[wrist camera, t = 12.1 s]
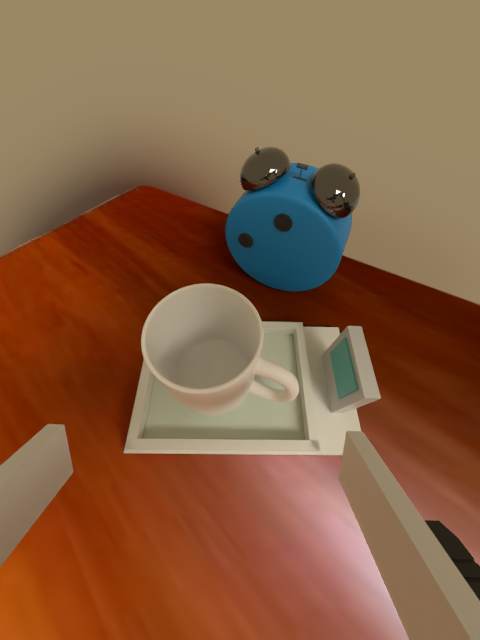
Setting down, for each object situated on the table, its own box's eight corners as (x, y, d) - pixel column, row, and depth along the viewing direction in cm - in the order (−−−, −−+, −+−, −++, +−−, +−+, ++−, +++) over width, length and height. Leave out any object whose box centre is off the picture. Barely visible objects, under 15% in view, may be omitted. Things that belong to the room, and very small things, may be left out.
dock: (335, 331, 29) (367, 292, 22) (361, 455, 23) (417, 455, 16) (153, 327, 29) (128, 287, 22) (127, 453, 23) (80, 451, 16)
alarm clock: (328, 274, 34) (387, 160, 21) (315, 308, 31) (376, 200, 18) (243, 244, 36) (248, 126, 23) (224, 273, 33) (219, 156, 20)
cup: (198, 328, 28) (181, 269, 19) (297, 370, 26) (330, 325, 17) (157, 395, 24) (114, 359, 15) (269, 451, 22) (294, 447, 13)
